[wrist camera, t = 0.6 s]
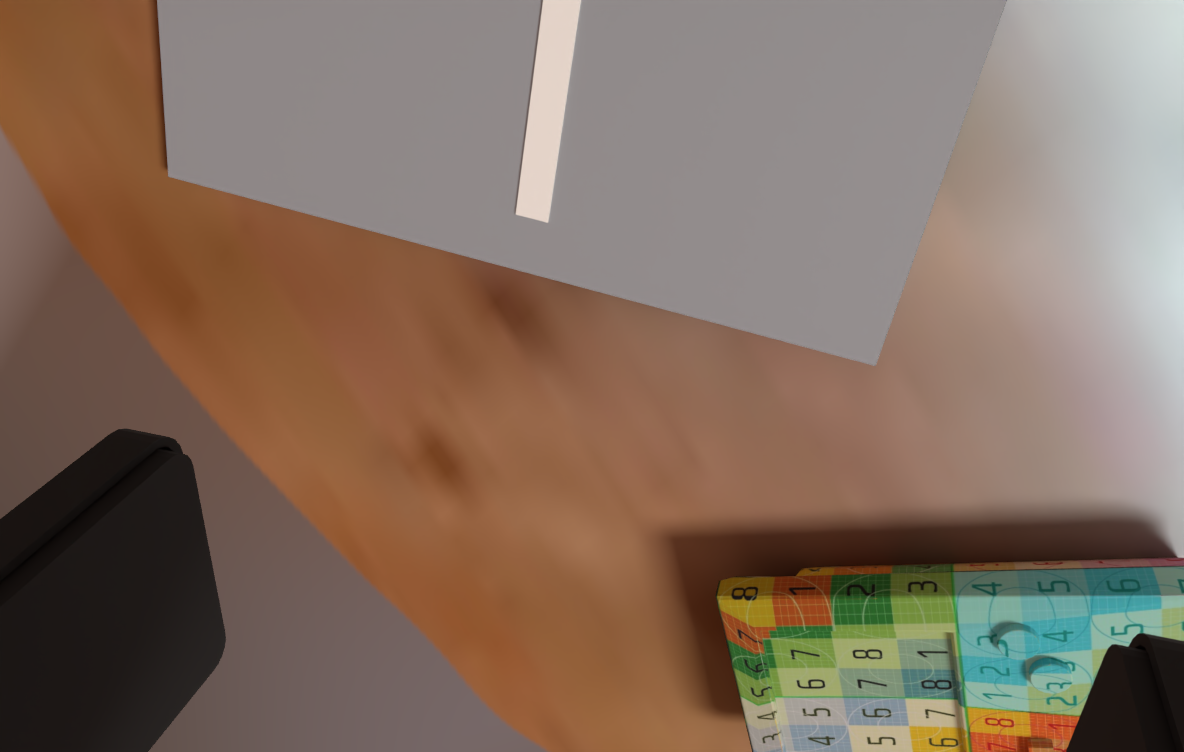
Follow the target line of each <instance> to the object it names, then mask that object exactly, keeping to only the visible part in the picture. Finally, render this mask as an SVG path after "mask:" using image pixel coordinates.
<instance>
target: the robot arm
mask: <svg viewBox="0 0 1184 752" xmlns="http://www.w3.org/2000/svg"><path fill="white" fill-rule="evenodd" d="M225 641H226V637H225V629H224V624H223V619H222V613H221V608H220V603H219V598H218V593H217V588H216V582H215V577H214V572H213V567H212V561H211V556H210V551H209V546H208V540H207V536H206V530H205V525H204V520H203V515H202V509H201V504H200V499H199V494H198V488H197V483H196V479H195V473H194V468H193V464H192V461H191V459H190V458H189V457H188V456H187V455H185V454H183V452H182V449H181V447H180V445H179V444H178V443H177V441H176V440H174V439H172V438H170V437H166V436H161V435H156V434H151V433H146V432H141V431H136V430H131V429H118V430H116V431H115V432H113V433H111V434H110V435H108V436H107V437H105V438H104V439H103V440H102V441H100V442H99V443H98V444H96V445H95V446H94V447H93V448H91V449H90V450H89V451H87V452H86V453H85V454H84V455H82V456H81V457H80V458H79V459H77V460H76V461H75V462H73V463H72V464H71V465H69V466H68V467H67V468H66V469H64V470H63V471H62V472H60V473H59V474H58V475H57V476H55V477H54V478H53V479H52V480H50V481H49V482H47V483H46V484H45V485H44V486H42V487H41V488H40V489H38V491H36V492H35V493H33V494H32V495H31V496H29V497H28V498H27V499H26V500H25V501H23V502H22V503H20V504H19V505H18V506H17V507H15V508H14V509H13V510H11V511H10V512H9V513H8V514H6V515H5V516H4V517H3V518H1V519H0V752H148V751H149V750H150V749H151V747H152V746H153V745H154V744H155V742H156V741H157V740H158V739H159V737H160V736H161V735H162V734H163V732H164V731H165V730H166V729H167V727H168V726H169V725H170V724H171V723H172V721H173V720H174V719H175V718H176V716H177V715H178V714H179V713H180V711H181V710H182V709H183V708H184V707H185V705H186V704H187V703H188V701H189V700H190V699H191V698H192V697H193V695H194V694H195V693H196V692H197V690H198V689H199V688H200V687H201V685H202V684H203V683H204V682H205V681H206V679H207V678H208V677H209V675H210V674H211V673H212V672H213V671H214V669H215V668H216V666H217V665H218V663H219V661H220V659H221V657H222V654H223V651H224V648H225ZM1066 752H1184V641H1181V640H1176V639H1171V638H1166V637H1161V636H1156V635H1151V634H1146V633H1139V634H1137V635H1136V636H1135V637H1134V638H1133V639H1132V641H1131V643H1130V645H1129V647H1127V646H1123V645H1118V644H1112V645H1111V646H1110V647H1109V648H1108V650H1107V651H1106V653H1105V655H1104V658H1103V660H1102V663H1101V665H1100V668H1099V670H1098V673H1097V675H1096V678H1095V680H1094V683H1093V685H1092V688H1091V690H1090V693H1089V695H1088V698H1087V700H1086V703H1085V705H1084V708H1083V710H1082V713H1081V715H1080V717H1079V720H1078V722H1077V725H1076V727H1075V730H1074V732H1073V735H1072V737H1071V740H1070V742H1069V745H1068V747H1067V750H1066Z"/></svg>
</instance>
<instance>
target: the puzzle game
mask: <svg viewBox="0 0 1184 752" xmlns="http://www.w3.org/2000/svg"><path fill="white" fill-rule="evenodd" d="M716 600H717V604H718V608H719V612H720V617H721V621H722V625H723V629H724V634H725V638H726V642H727V646H728V651H729V655H730V659H731V663H732V668H733V672H734V676H735V680H736V685H737V689H738V693H739V697H740V702H741V706H742V710H743V714H744V718H745V723H746V727H747V731H748V735H749V740H750V744H751V748H752V752H1066V750H1067V747H1068V745H1069V742H1070V740H1071V737H1072V735H1073V732H1074V730H1075V727H1076V725H1077V722H1078V720H1079V717H1080V715H1081V713H1082V710H1083V708H1084V705H1085V703H1086V700H1087V698H1088V695H1089V693H1090V690H1091V688H1092V685H1093V683H1094V680H1095V678H1096V675H1097V673H1098V670H1099V668H1100V665H1101V663H1102V660H1103V658H1104V655H1105V653H1106V651H1107V650H1108V648H1109V647H1110V646H1111V645H1112V644H1118V645H1123V646H1127V647H1129V645H1130V643H1131V641H1132V639H1133V638H1134V637H1135V636H1136V635H1137V634H1139V633H1146V634H1151V635H1156V636H1161V637H1166V638H1171V639H1176V640H1181V641H1184V558H1142V559H1104V560H1066V561H1028V562H990V563H952V564H915V565H877V566H839V567H812V568H803V569H801V570H800V571H799V573H798V574H797V575H796V576H784V577H743V576H736V577H732V578H728V579H725V580H721V581H719V584H718V588H717V592H716Z"/></svg>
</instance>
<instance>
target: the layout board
mask: <svg viewBox="0 0 1184 752" xmlns="http://www.w3.org/2000/svg"><path fill="white" fill-rule="evenodd" d="M1006 1H1007V0H157V6H158V22H159V38H160V53H161V69H162V85H163V101H164V116H165V132H166V148H167V163H168V177H172V178H175V179H179V180H183V181H187V182H190V183H194V184H198V185H202V186H205V187H209V188H213V189H216V190H220V191H224V192H228V193H231V194H235V195H239V196H243V197H246V198H250V199H254V200H258V201H261V202H265V203H269V204H272V205H276V206H280V207H284V208H287V209H291V210H295V211H299V212H302V213H306V214H310V215H314V216H317V217H321V218H325V219H328V220H332V221H336V222H340V223H343V224H347V225H351V226H355V227H358V228H362V229H366V230H370V231H373V232H377V233H381V234H384V235H388V236H392V237H396V238H399V239H403V240H407V241H411V242H414V243H418V244H422V245H426V246H429V247H433V248H437V249H440V250H444V251H448V252H452V253H455V254H459V255H463V256H467V257H470V258H474V259H478V260H482V261H485V262H489V263H493V264H496V265H500V266H504V267H508V268H511V269H515V270H519V271H523V272H526V273H530V274H534V275H538V276H541V277H545V278H549V279H552V280H556V281H560V282H564V283H567V284H571V285H575V286H579V287H582V288H586V289H590V290H594V291H597V292H601V293H605V294H608V295H612V296H616V297H620V298H623V299H627V300H631V301H635V302H638V303H642V304H646V305H650V306H653V307H657V308H661V309H664V310H668V311H672V312H676V313H679V314H683V315H687V316H691V317H694V318H698V319H702V320H706V321H709V322H713V323H717V324H720V325H724V326H728V327H732V328H735V329H739V330H743V331H747V332H750V333H754V334H758V335H762V336H765V337H769V338H773V339H776V340H780V341H784V342H788V343H791V344H795V345H799V346H803V347H806V348H810V349H814V350H818V351H821V352H825V353H829V354H833V355H836V356H840V357H844V358H847V359H851V360H855V361H859V362H862V363H866V364H870V365H874V366H876V363H877V360H878V357H879V355H880V352H881V349H882V346H883V344H884V341H885V338H886V335H887V332H888V330H889V327H890V324H891V321H892V319H893V316H894V313H895V310H896V307H897V305H898V302H899V299H900V296H901V293H902V291H903V288H904V285H905V282H906V280H907V277H908V274H909V271H910V268H911V266H912V263H913V260H914V257H915V255H916V252H917V249H918V246H919V243H920V241H921V238H922V235H923V232H924V229H925V227H926V224H927V221H928V218H929V216H930V213H931V210H932V207H933V204H934V202H935V199H936V196H937V193H938V191H939V188H940V185H941V182H942V179H943V177H944V174H945V171H946V168H947V165H948V163H949V160H950V157H951V154H952V152H953V149H954V146H955V143H956V140H957V138H958V135H959V132H960V129H961V127H962V124H963V121H964V118H965V115H966V113H967V110H968V107H969V104H970V101H971V99H972V96H973V93H974V90H975V88H976V85H977V82H978V79H979V76H980V74H981V71H982V68H983V65H984V63H985V60H986V57H987V54H988V51H989V49H990V46H991V43H992V40H993V37H994V35H995V32H996V29H997V26H998V24H999V21H1000V18H1001V15H1002V12H1003V10H1004V7H1005V4H1006Z"/></svg>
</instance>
